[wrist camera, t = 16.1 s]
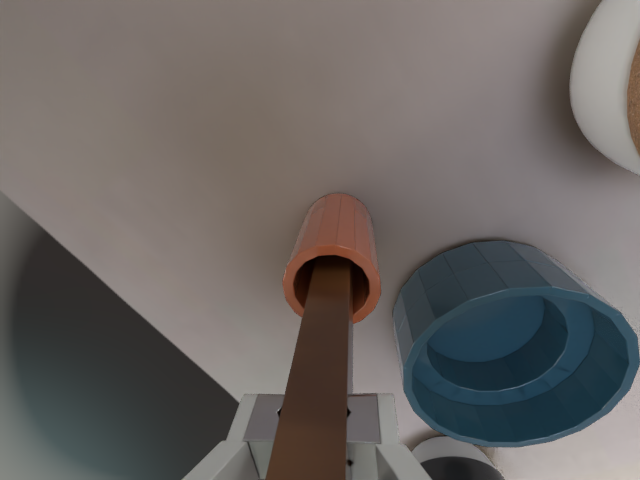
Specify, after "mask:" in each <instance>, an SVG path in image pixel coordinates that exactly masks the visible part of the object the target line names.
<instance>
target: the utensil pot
mask: <svg viewBox="0 0 640 480" xmlns="http://www.w3.org/2000/svg"><path fill="white" fill-rule="evenodd" d="M323 255H338V256H341V257H345V258H348V259H350V260H352V261H353V324H354V323H357V322H360V321H361V320H363V319H364V318H365V317H366V316H367V315H368V314H370V313H371V312H372V311H373V310H374V308H375V306H376V304H377V302H378V300H379V297H380V294H381V285H380V274H379V267H378V260H377V253H376V247H375V240H374V233H373V226H372V220H371V217H370V214H369V212H368V210H367V208H366V207H365V206H364V204H363V203H362V202H361V201H359V200H358V199H356V198H355V197H353V196H350V195H347V194H341V193H335V194H329V195H326V196H324V197H321V198H320V199H318V200H317V201H316V202H315V203H314V204H313V205H312V206H311V207H310V209H309V211H308V212H307V214H306V217H305V219H304V222H303V225H302V227H301V230H300V232H299V235H298V238H297V240H296V243H295V246H294V248H293V251H292V253H291V256H290V259H289V261H288V264H287V266H286V270H285V273H284V277H283V281H282V282H283V283H282V285H283V290H284V295H285V298H286V301H287V302H288V304H289V305H290V306H291V308H292V309H293V311H294V312H296V314H298V315H299V316H301V317H303V313H304V309H305V304H306V300H307V296H308V291H309V287H310V283H311V278H312V274H313V270H314V265H315V261H316V257H317V256H323Z"/></svg>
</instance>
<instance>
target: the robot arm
mask: <svg viewBox="0 0 640 480" xmlns="http://www.w3.org/2000/svg"><path fill="white" fill-rule="evenodd" d="M283 400H284V395H282V394H245V395H244V396H243V397H242V399H241V401H240V404H239V407H238V410H237V412H236V415H235V418H234V420H233V423H232V426H231V428H230V431H229V434H228V436H227V439H226V441H221V442H220V443H219V444H218V445H217V446H216V447H215V448H214V449H213V450H212V451H211V452H210V453H209V454H208V455H207V456H206V457H205V458H204V459H203V460H202V461H201V462H199V463H198V464H197V465H196V466H195V467H194V468H193V469H192V470H191V471H190V472H189V473H188V474H187V475H186V476H185V477H184V478H183V479H182V480H259V479H265V478H266V474H267V469H268V465H269V461H270V456H271V452H272V448H273V443H274V439H275V435H276V430H277V426H278V422H279V417H280V413H281V409H282V404H283ZM347 410H348V417H347V439H346V443H347V450H348V457H349V460H350V472H351V479H352V480H432V479H431V478H430V476H429V475H428V474H427V472H426V471H425V470H424V468H423V467H422V466H421V465H420V463H419V462H418V461H417V459H416V458H415V457H414V455H413V454H412V453H411V451H410V450H409V449H408V448H407V446H406V445H405V444H400V439H399V432H398V424H397V417H396V409H395V401H394V396H393V394H377V393H363V394H348V397H347Z"/></svg>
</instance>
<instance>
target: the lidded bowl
mask: <svg viewBox="0 0 640 480" xmlns="http://www.w3.org/2000/svg"><path fill="white" fill-rule="evenodd" d="M569 89H570V103H571V107H572V111H573V115H574V118H575V120H576V122H577V124H578V126H579V128H580V130H581V131H582V133H583V134H584V136H585V137H586V138H587V139H588V141H589V142H590V143H591V145H592V146H593V147H594V148H596V149H597V150H598V151H599V152H600V153H602V154H603V155H604V156H605V157H607V158H608V159H610V160H611V161H612V162H614V163H615V164H617V165H619V166H621V167H623V168H625V169H627V170H629V171H631V172H633V173H635V174H637V175H639V176H640V0H602V1H601V3H600V4H599V6H598V7H597V9H596V10H595V12H594V13H593V15H592V17H591V18H590V20H589V22H588V24H587V26H586V28H585V30H584V32H583V34H582V36H581V39H580V41H579V44H578V46H577V49H576V52H575V56H574V60H573V64H572V68H571V75H570V86H569Z"/></svg>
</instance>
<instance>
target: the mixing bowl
mask: <svg viewBox="0 0 640 480" xmlns="http://www.w3.org/2000/svg"><path fill="white" fill-rule="evenodd" d="M393 331H394V337H395V343H396V349H397V355H398V361H399V367H400V372H401V378H402V384H403V390H404V393H405V395H406V397H407V399H408V401H409V403H410V405H411V407H412V409H413V411H414V412H415V413H416V414H417V415H418V416H419V417H420V418H421V419H422V420H423V421H424V422H426V423H427V424H428V425H429V426H430V427H431V428H433V429H434V430H436V431H438V432H440V433H442V434H444V435H447V436H449V437H451V438H453V439H455V440H458V441H462V442H466V443H471V444H476V445H480V446H485V447H523V446H529V445H535V444H541V443H546V442H550V441H551V442H552V441H554V440H557V439H560V438H562V437H565V436H568V435H570V434H573V433H576V432H578V431H581V430H583V429H585V428H586V427H588V426H589V425H591V424H592V423H594V422H595V421H597V420H599V419H600V418H602V417H603V416H605V415H606V414H608V413H609V412H610V411H611V410H612V409H613V408H614V407H615V406H616V405H617V404H618V402H619V401H620V400H621V399H622V398H623V397H624V396H625V395H626V394H627V392H628V391H629V389H630V388H631V386H632V383H633V381H634V378H635V376H636V373H637V370H638V368H639V365H640V357H639V347H638V338H637V335H636V334H635V332H634V331H633V329H632V328H631V326H630V325H629V324H628V322H627V321H626V319H625V318H624V316H623V315H622V314H621V312H619V311H618V310H617V309H616V308H615V307H613V306H612V305H611V304H610V303H609V302H607V301H606V300H605V299H604V298H602V297H601V296H600V295H599V294H598V293H596V292H595V291H594V290H593V289H591V288H590V287H589V286H588V285H587V284H585V283H584V282H583V281H582V280H581V279H579V278H578V277H577V276H576V275H574V274H573V273H572V272H571V271H570V270H568V269H567V268H566V267H565V266H563V265H562V264H561V263H560V262H559V261H557V260H556V259H554V258H552V257H551V256H549V255H547V254H546V253H544V252H542V251H541V250H539V249H537V248H536V247H533V246H528V245H524V244H519V243H514V242H510V241H488V242H473V243H469V244H466V245H463V246H461V247H458V248H455V249H452V250H449V251H446V252H443V253H441V254H439V255H438V256H436V257H435V258H433V259H432V260H430V261H429V262H427V263H426V264H424V265H423V266H421V267H420V268H418V269H417V270H416V271H415V273H414V274H413V275H412V276H411V277H410V279H409V280H408V281H407V282H406V283H405V285H404V286H403V287H402V288H401V290H400V293H399V296H398V298H397V301H396V304H395V307H394V309H393Z"/></svg>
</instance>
